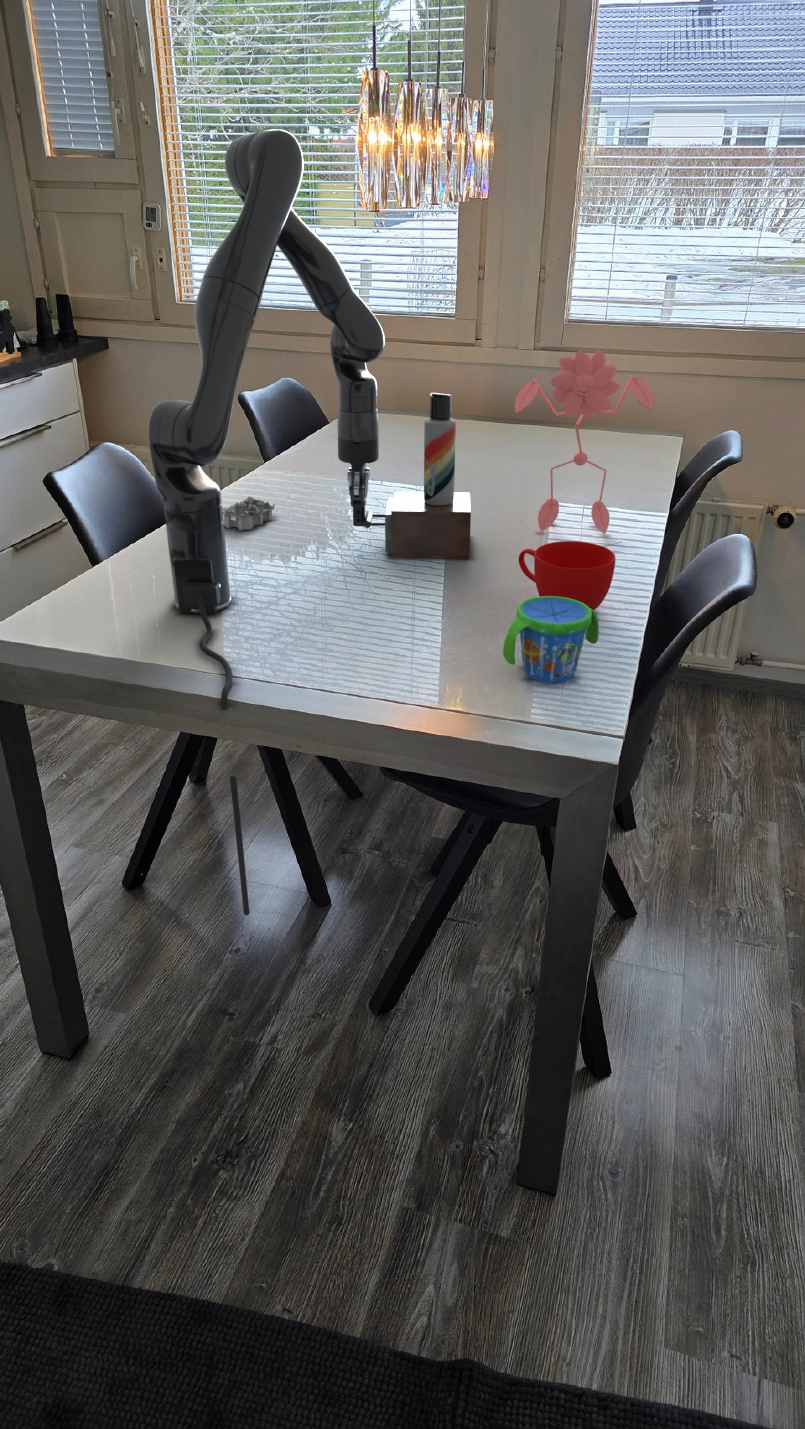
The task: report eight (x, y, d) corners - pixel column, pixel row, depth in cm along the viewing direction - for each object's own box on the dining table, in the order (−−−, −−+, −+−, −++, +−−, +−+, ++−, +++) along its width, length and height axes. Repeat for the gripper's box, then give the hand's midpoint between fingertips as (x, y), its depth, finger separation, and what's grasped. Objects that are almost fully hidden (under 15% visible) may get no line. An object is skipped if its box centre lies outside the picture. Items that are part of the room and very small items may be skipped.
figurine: (510, 520, 207) (519, 342, 190) (637, 527, 203) (658, 346, 186) (503, 545, 194) (512, 356, 177) (639, 553, 190) (661, 361, 173)
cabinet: (391, 558, 188) (391, 511, 184) (394, 536, 199) (394, 491, 194) (469, 559, 188) (470, 512, 183) (468, 537, 198) (469, 492, 194)
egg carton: (245, 532, 201) (244, 513, 199) (217, 526, 205) (215, 506, 203) (279, 518, 209) (277, 499, 207) (251, 512, 212) (249, 493, 210)
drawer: (363, 552, 188) (362, 514, 185) (367, 533, 198) (366, 497, 194) (457, 553, 188) (458, 515, 184) (456, 534, 197) (457, 498, 194)
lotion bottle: (418, 503, 187) (419, 393, 178) (432, 495, 192) (433, 388, 182) (445, 508, 185) (448, 397, 175) (458, 499, 190) (461, 391, 180)
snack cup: (575, 650, 153) (581, 587, 148) (614, 678, 145) (622, 614, 140) (484, 668, 148) (487, 604, 143) (520, 699, 139) (524, 632, 134)
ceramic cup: (537, 585, 176) (541, 530, 171) (624, 609, 167) (630, 552, 162) (495, 608, 167) (498, 551, 162) (584, 634, 158) (589, 575, 153)
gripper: (341, 425, 189) (342, 514, 198) (334, 442, 178) (336, 536, 186) (380, 425, 189) (380, 514, 197) (376, 443, 177) (376, 537, 186)
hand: (359, 525), depth 192 cm, fingers closed
